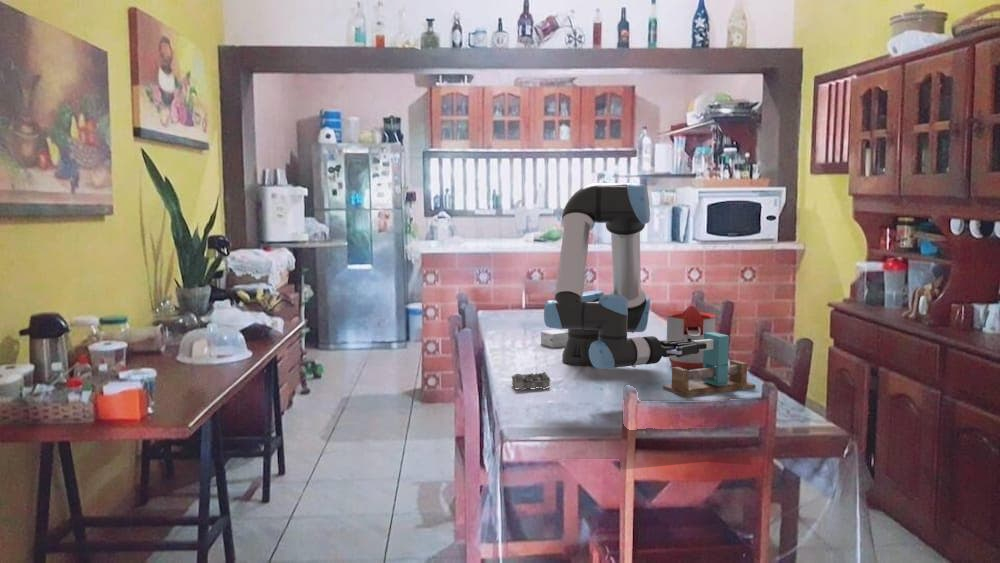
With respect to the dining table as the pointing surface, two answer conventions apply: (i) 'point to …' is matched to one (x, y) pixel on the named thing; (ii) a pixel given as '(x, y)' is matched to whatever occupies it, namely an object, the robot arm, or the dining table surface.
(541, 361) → the dining table surface
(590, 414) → the dining table surface
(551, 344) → the small box
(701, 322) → the citrus juicer
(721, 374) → the collar
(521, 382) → the egg carton
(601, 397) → the dining table surface
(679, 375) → the rail
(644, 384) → the dining table surface
